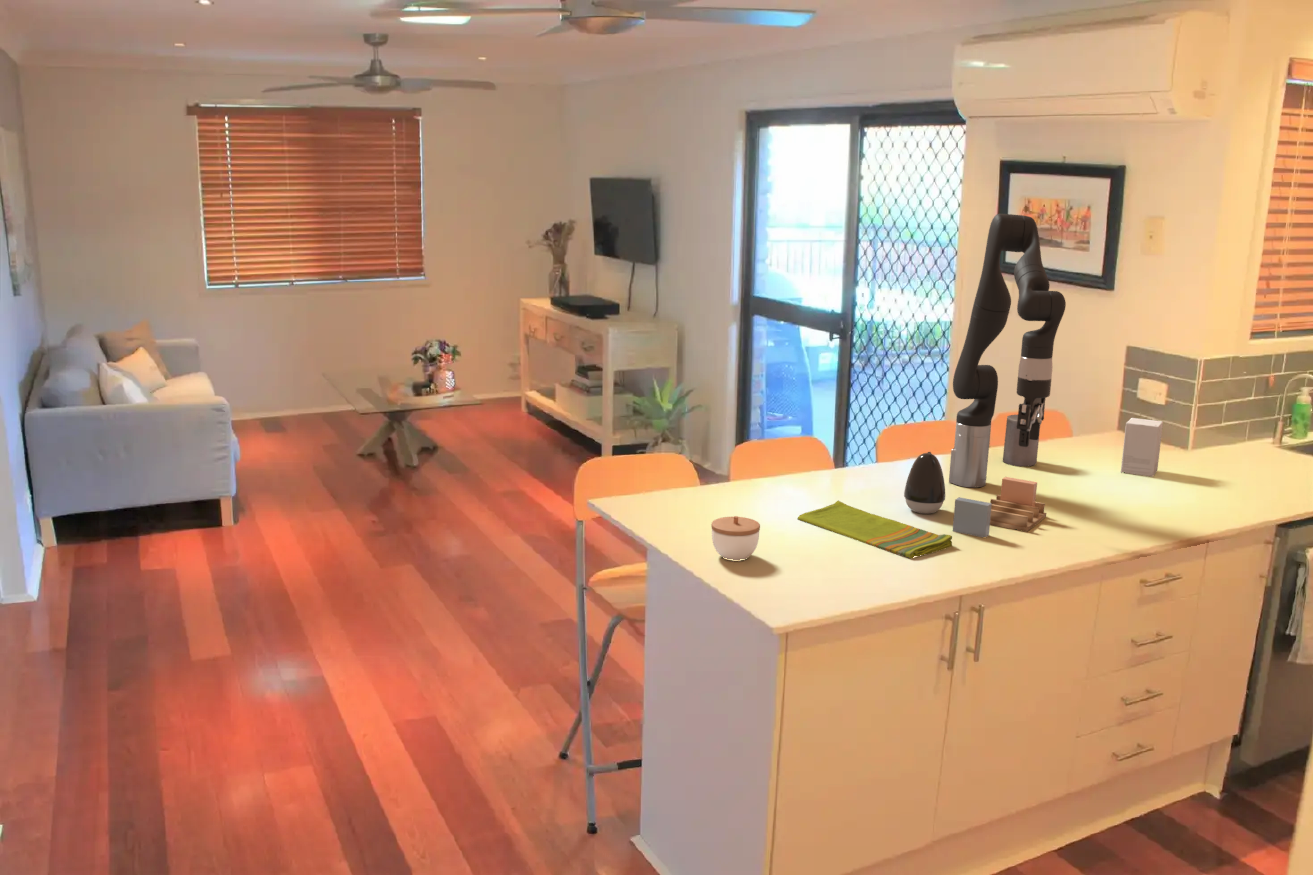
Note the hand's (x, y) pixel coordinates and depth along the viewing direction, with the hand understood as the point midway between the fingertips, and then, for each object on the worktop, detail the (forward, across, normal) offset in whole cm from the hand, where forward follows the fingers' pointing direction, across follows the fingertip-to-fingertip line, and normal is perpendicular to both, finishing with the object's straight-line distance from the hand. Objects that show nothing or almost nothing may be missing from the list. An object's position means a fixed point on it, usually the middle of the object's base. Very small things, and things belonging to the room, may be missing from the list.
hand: (1028, 442), depth 260 cm
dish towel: (+22, +24, -28) cm, 43 cm away
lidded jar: (+22, +59, -46) cm, 78 cm away
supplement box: (+21, -75, +13) cm, 79 cm away
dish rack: (+21, -6, -4) cm, 23 cm away
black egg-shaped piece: (+21, 0, -24) cm, 33 cm away
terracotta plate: (+16, -10, -4) cm, 20 cm away
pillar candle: (+21, -64, -18) cm, 69 cm away
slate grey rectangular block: (+18, +11, -9) cm, 22 cm away
